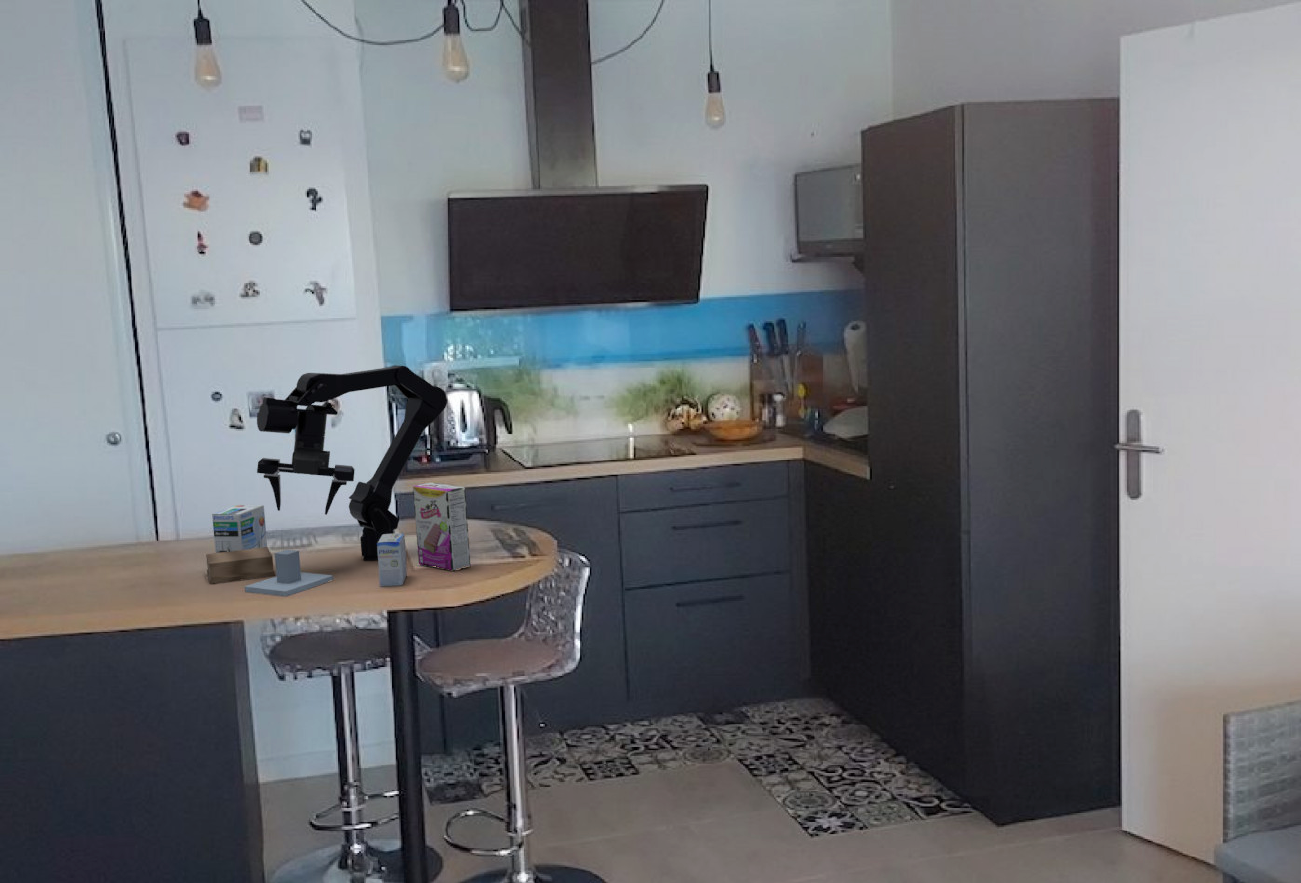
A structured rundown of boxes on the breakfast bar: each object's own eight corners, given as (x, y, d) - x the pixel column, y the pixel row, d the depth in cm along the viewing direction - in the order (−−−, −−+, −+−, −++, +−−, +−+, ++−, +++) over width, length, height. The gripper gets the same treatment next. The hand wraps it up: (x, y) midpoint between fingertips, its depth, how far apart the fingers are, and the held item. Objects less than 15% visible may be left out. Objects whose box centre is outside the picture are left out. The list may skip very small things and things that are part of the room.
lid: (293, 578, 256) (290, 543, 255) (333, 583, 251) (330, 547, 250) (245, 594, 245) (241, 557, 244) (286, 599, 240) (282, 561, 239)
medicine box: (384, 577, 251) (381, 534, 250) (407, 576, 252) (404, 532, 251) (379, 587, 244) (376, 542, 243) (403, 585, 244) (400, 540, 243)
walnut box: (269, 565, 267) (268, 546, 266) (274, 575, 257) (273, 556, 257) (207, 573, 262) (205, 554, 262) (210, 584, 253) (208, 564, 252)
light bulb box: (244, 564, 269) (239, 513, 268) (215, 564, 271) (210, 514, 269) (269, 552, 280) (265, 504, 278) (240, 552, 281) (236, 504, 280)
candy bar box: (417, 565, 260) (411, 485, 258) (436, 560, 264) (430, 481, 262) (452, 572, 253) (446, 490, 251) (471, 567, 257) (466, 486, 254)
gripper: (259, 432, 249) (251, 512, 249) (357, 441, 253) (349, 520, 253) (263, 430, 260) (255, 507, 260) (357, 439, 264) (349, 514, 264)
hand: (302, 512), depth 259 cm, fingers open, 9 cm apart
